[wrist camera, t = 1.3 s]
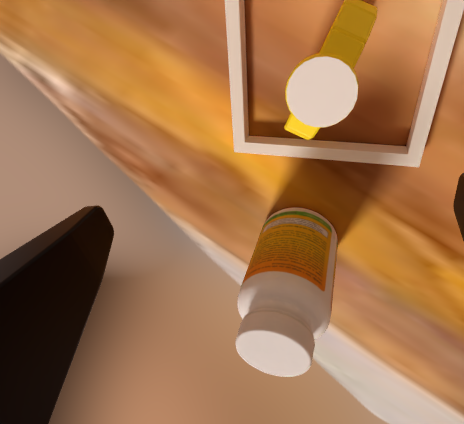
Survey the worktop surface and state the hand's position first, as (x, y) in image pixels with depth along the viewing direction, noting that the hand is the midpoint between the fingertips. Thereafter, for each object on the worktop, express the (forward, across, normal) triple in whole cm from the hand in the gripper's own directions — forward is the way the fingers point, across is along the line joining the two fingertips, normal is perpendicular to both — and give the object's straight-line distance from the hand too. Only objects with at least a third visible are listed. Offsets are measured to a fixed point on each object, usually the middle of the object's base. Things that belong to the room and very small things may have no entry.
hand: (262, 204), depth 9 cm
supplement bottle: (+12, 0, +12) cm, 17 cm away
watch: (+13, -3, 0) cm, 13 cm away
